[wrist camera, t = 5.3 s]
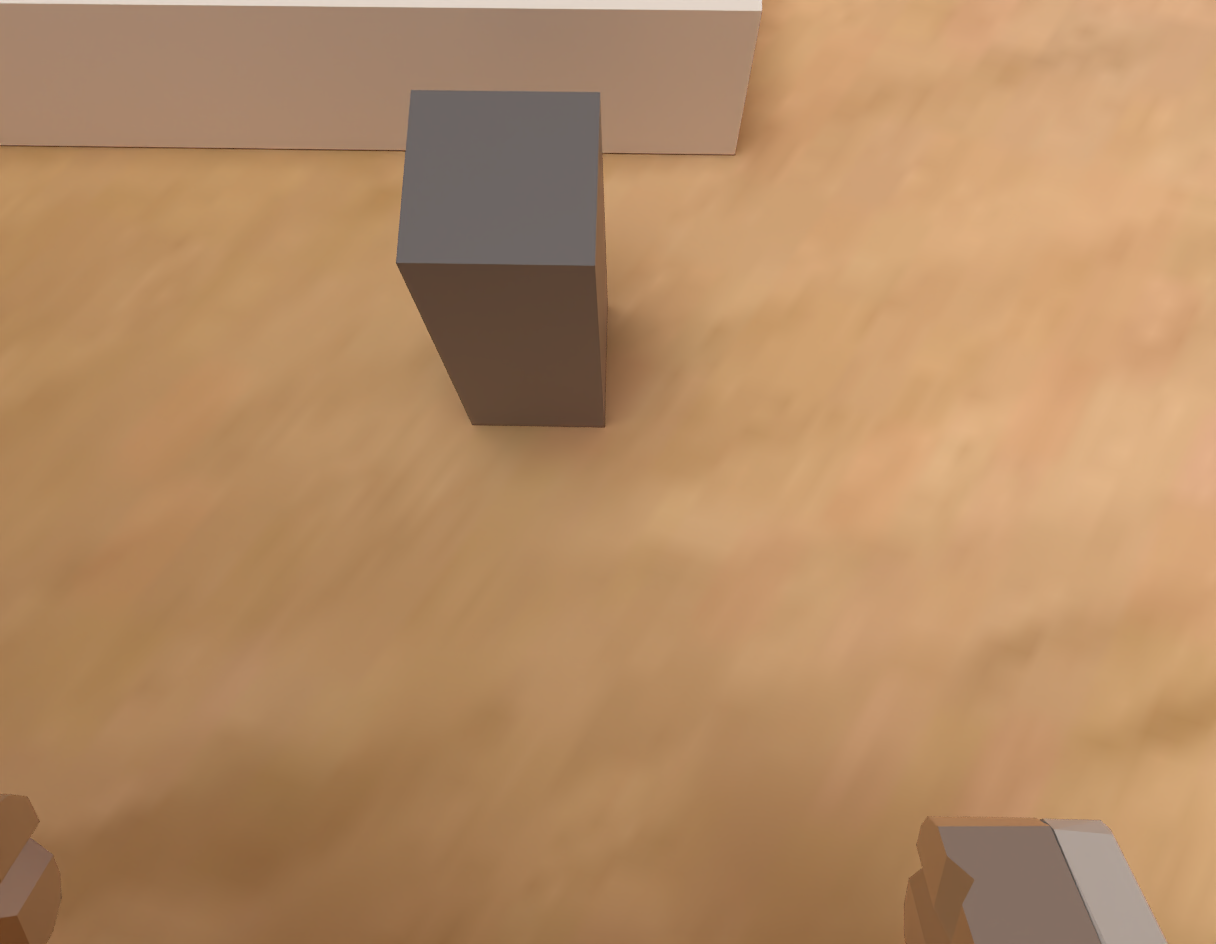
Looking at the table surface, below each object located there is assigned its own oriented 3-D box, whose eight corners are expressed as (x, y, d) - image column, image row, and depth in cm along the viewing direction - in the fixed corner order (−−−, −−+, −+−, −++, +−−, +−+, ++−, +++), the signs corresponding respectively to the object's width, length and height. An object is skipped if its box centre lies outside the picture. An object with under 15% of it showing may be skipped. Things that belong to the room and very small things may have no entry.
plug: (472, 424, 23) (396, 262, 15) (479, 302, 24) (410, 89, 16) (604, 427, 23) (595, 266, 15) (607, 304, 24) (600, 92, 16)
